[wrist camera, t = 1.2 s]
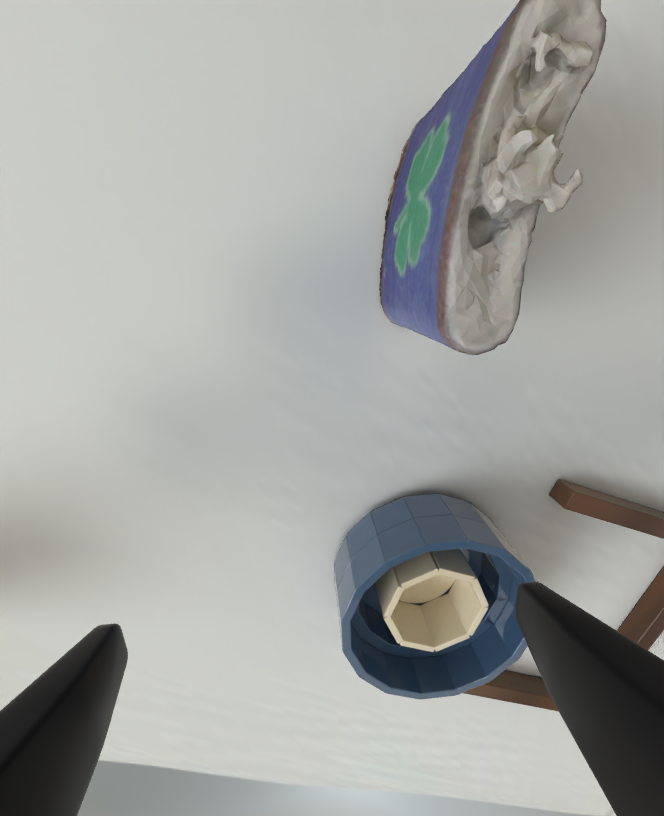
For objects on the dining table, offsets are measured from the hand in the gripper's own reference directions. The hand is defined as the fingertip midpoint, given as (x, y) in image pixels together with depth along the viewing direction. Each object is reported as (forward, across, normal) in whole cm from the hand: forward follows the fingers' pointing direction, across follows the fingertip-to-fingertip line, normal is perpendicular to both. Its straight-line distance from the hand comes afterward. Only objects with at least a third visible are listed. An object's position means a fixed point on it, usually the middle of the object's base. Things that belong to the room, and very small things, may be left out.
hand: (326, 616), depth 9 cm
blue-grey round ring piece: (+13, -6, +10) cm, 18 cm away
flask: (+13, -6, -9) cm, 17 cm away
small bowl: (+13, -6, +10) cm, 18 cm away
